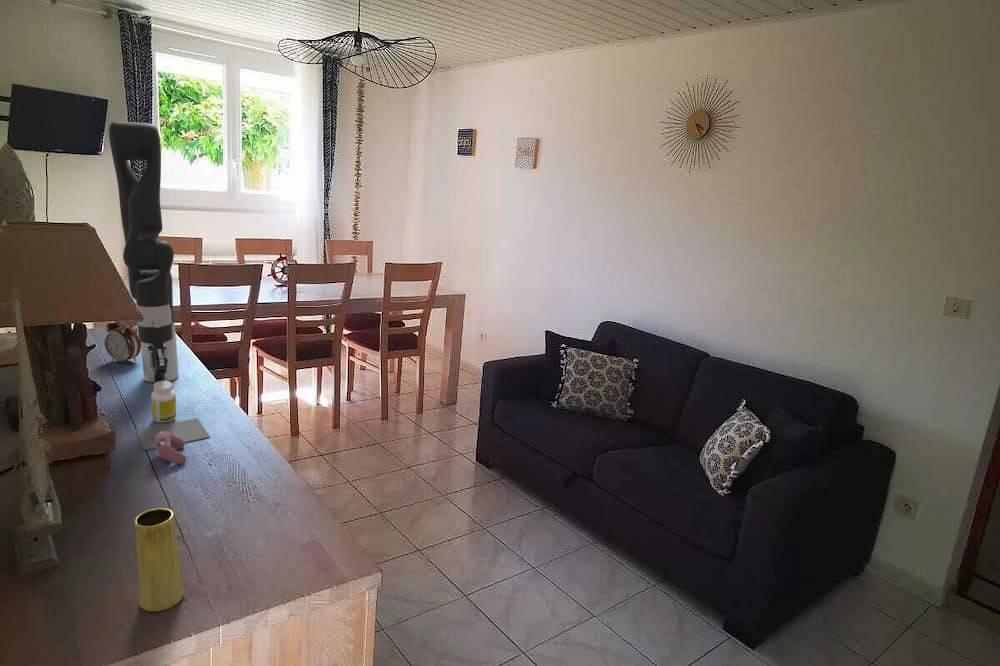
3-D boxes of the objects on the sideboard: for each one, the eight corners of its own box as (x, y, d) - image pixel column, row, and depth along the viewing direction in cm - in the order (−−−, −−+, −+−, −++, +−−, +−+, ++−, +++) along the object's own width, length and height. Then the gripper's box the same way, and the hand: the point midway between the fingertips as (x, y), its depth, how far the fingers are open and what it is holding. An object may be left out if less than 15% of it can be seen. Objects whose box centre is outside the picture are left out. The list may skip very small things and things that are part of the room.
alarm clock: (104, 361, 199) (99, 315, 195) (117, 357, 204) (113, 312, 200) (131, 366, 196) (127, 320, 192) (144, 362, 201) (140, 316, 197)
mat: (135, 430, 153) (135, 429, 153) (197, 419, 161) (197, 418, 161) (144, 450, 143) (144, 449, 143) (210, 437, 151) (210, 436, 151)
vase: (142, 617, 93) (133, 533, 89) (136, 594, 97) (128, 513, 94) (187, 603, 96) (180, 521, 92) (180, 581, 101) (173, 502, 97)
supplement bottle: (180, 413, 162) (179, 382, 158) (168, 425, 157) (166, 392, 153) (160, 408, 162) (159, 376, 158) (147, 420, 158) (145, 387, 153)
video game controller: (167, 454, 145) (149, 431, 142) (186, 443, 147) (169, 420, 143) (168, 473, 137) (149, 449, 134) (188, 462, 138) (170, 438, 135)
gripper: (133, 316, 157) (139, 381, 162) (141, 330, 147) (147, 398, 152) (166, 313, 162) (171, 377, 166) (176, 326, 152) (181, 393, 156)
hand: (160, 387), depth 159 cm, fingers closed
